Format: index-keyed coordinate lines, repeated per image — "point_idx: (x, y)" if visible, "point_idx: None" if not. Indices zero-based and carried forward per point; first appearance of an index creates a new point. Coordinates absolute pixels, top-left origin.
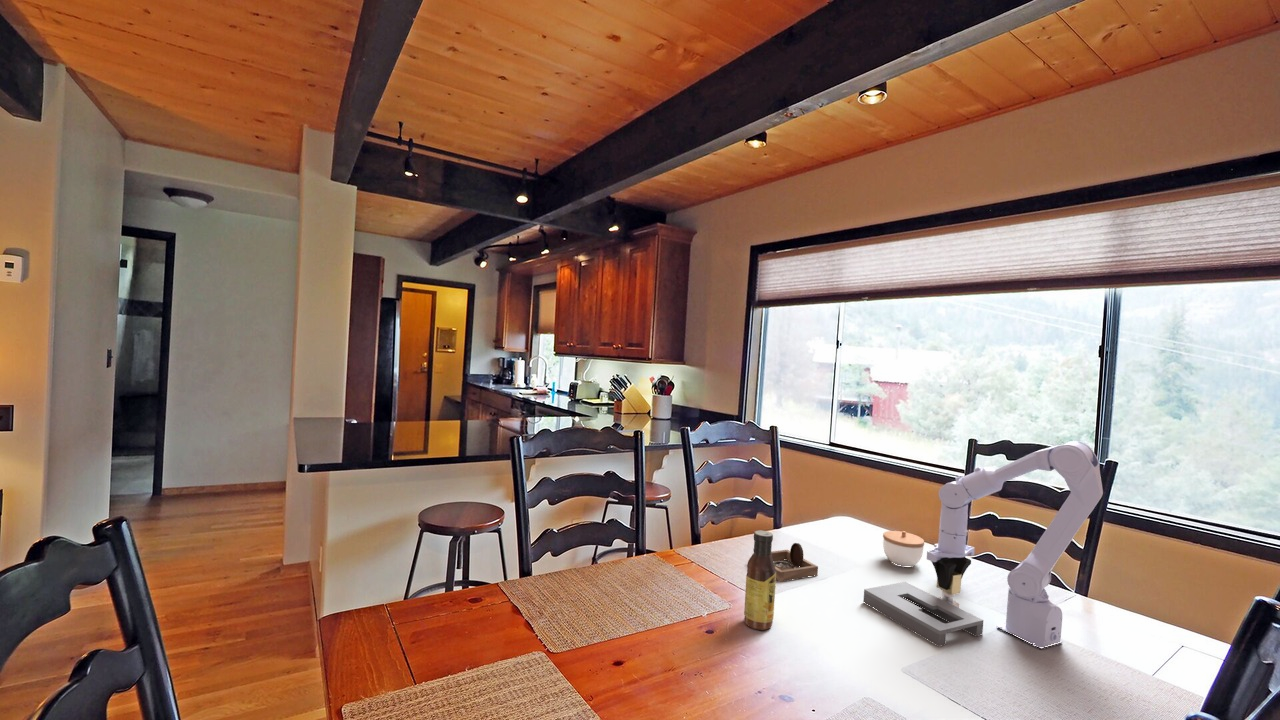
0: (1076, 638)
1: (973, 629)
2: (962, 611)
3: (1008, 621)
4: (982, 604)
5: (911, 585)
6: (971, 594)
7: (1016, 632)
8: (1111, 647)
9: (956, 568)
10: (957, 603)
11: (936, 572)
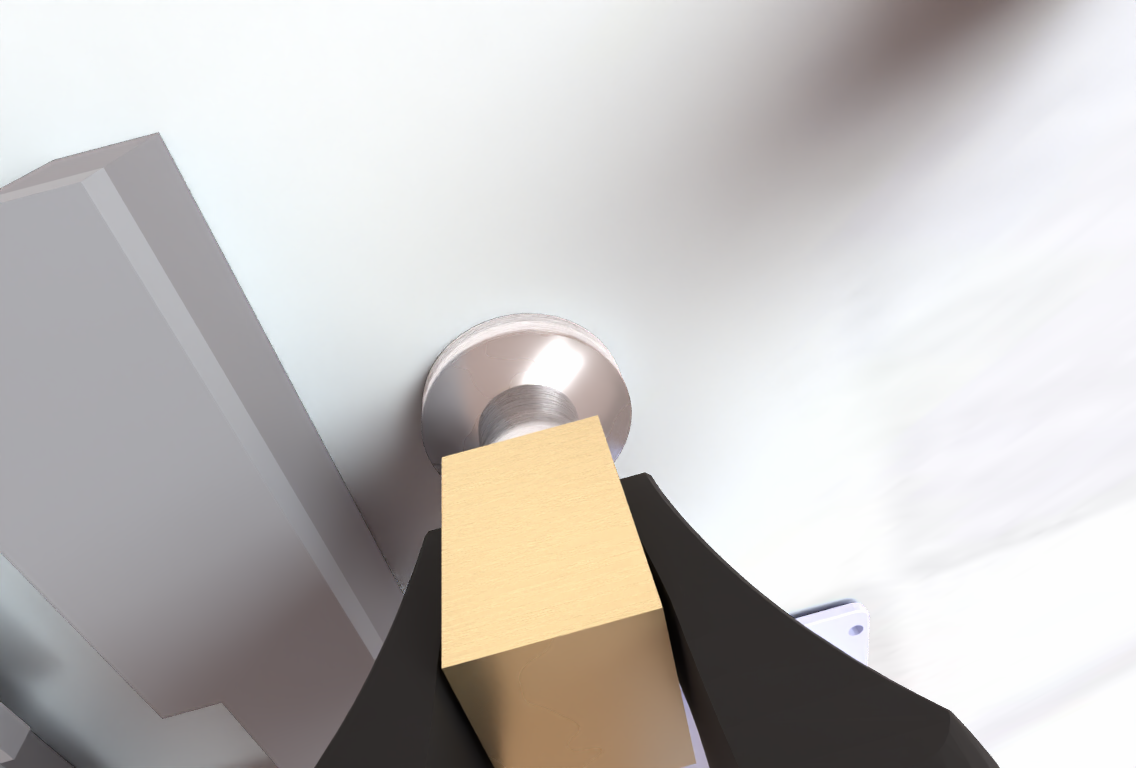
0: (989, 699)
1: None
2: None
3: None
4: (900, 372)
5: (134, 316)
6: (1024, 176)
7: None
8: (1047, 740)
9: (714, 760)
10: (615, 445)
11: (367, 692)
